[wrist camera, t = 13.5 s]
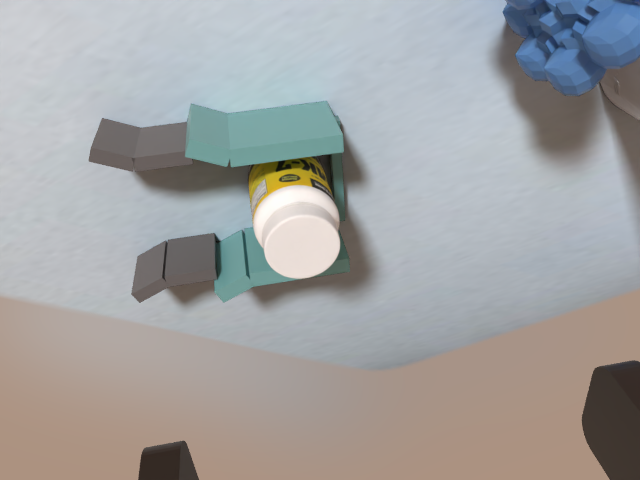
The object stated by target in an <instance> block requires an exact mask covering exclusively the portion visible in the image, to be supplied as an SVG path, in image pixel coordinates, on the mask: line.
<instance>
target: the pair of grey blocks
mask: <svg viewBox="0 0 640 480" xmlns="http://www.w3.org/2000/svg"><path fill="white" fill-rule="evenodd" d="M186 132H187V122H183V123H176V124H168V125H160V126H152V127H144V128H139V127H135V126H131V125H127V124H123V123H119V122H115V121H112V120H108V119H104V118H102V120H101V123H100V125H99V128H98V131H97V133H96V136H95V138H94V141H93V144H92V146H91V150H90V156H89V162H93V163H98V164H102V165H106V166H111V167H115V168H119V169H124V170H128V171H132V172H133V167H135V171H136V172H138V171H145V170H153V169H160V168H168V167H175V166H183V165H190V164H193V159H192V158H188V157H185V148H186ZM210 280H217V252H216V240H215V235H214V233H212V234H205V235H198V236H191V237H184V238H177V239H171V240H168V243H167V242H166V241H164V242H162V243H161V244H159V245H157V246H155V247H154V248H152V249H150V250H148V251H146V252H145V253H143V254H141V255H139V256H138V257H137V264H136V270H135V276H134V282H133V288H132V295H133V296H134V297H135V298H136V299H137V301H138V302H139V303H141V302H142V301H144V300H146V299H148V298H150V297H151V296H153V295H155V294H157V293H159V292H161V291H162V290H164V289H166V288H168V287H171V286H178V285H184V284H191V283H197V282H204V281H210Z"/></svg>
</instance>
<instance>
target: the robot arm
mask: <svg viewBox="0 0 640 480" xmlns="http://www.w3.org/2000/svg"><path fill="white" fill-rule="evenodd" d="M600 83H601V85H602V88H603V91H604V93H605V95H606V96H607V97H608V98H609V100H610V101H611V102H612V103H613V104H614V105H616V106H617V107H619V108H620V109H621V110H623V111H625V112H626V113H628V114H629V115H631V116H633V117H634V118H636V119H637V120H639V121H640V57H639V58H638V59H637V60H636V61H635V62H633V63H631V64H629V65H627V66H625V67H623V68H621V69H607V71H606V73H605V74H604V76H603V78H602V79H601V80H600ZM582 426H583V431H584V435H585V438H586V441H587V443H588V445H589V447H590V449H591V450H592V452H593V454H594V455H595V457H596V458H597V460H598V461H599V463H600V465H601V466H602V468H603V469H604V471H605V473H606V474H607V476H608V477H609V479H610V480H640V362H638V361H627V362H622V363H616V364H611V365H605V366H600V367H597V368H595V370H594V371H593V374H592V378H591V382H590V386H589V391H588V395H587V399H586V403H585V407H584V411H583V415H582ZM138 480H199V478H198V476H197V473H196V470H195V467H194V464H193V461H192V458H191V455H190V452H189V449H188V446H187V444H186V442H185V441H180V442H174V443H168V444H163V445H157V446H152V447H146V448H144V450H143V452H142V455H141V462H140V471H139V479H138Z"/></svg>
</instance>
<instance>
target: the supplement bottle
mask: <svg viewBox="0 0 640 480" xmlns="http://www.w3.org/2000/svg"><path fill="white" fill-rule="evenodd" d="M248 185H249V194H250V203H251V212H252V220H253V228H254V233H255V236H256V238H257V240H258V242H259V244H260V245H261V246H262V248H263V249H264V254H265V258H266V260H267V262H268V264H269V265H270V267H271V268H272V269H273V270H275V271H276V272H277V273H279V274H281V275H283V276H285V277H289V278H295V279H303V278H309V277H313V276H315V275H318V274H320V273H322V272H324V271H325V270H326V269H328V268H329V267H330V266H331V265H332V264H333V262H334V261H335V260H336V258H337V256H338V254H339V250H340V237H339V233H338V229H339V212H338V209H337V206H336V203H335V200H334V198H333V195H332V192H331V189H330V187H329V184H328V181H327V178H326V175H325V173H324V170H323V167H322V165H321V163H320V161H319V159H318V157H317V156H311V157H304V158H297V159H289V160H282V161H274V162H267V163H260V164H252V165H251V166H250V168H249V172H248Z"/></svg>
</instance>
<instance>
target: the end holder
mask: <svg viewBox="0 0 640 480" xmlns="http://www.w3.org/2000/svg"><path fill="white" fill-rule="evenodd" d="M342 152H344V146H343V134H342V132H341V130H340V120H339V118H338V116H334V115H333V113H332V111H331V109H330V107H329V105H328V103H327V101H323V102H315V103H307V104H299V105H291V106H283V107H276V108H268V109H260V110H252V111H244V112H236V113H228V114H227V113H223V112H220V111H216V110H212V109H209V108H205V107H201V106H198V105H194V104H191V107H190V111H189V115H188V119H187V132H186V148H185V157H188V158H192V159H196V160H200V161H204V162H208V163H213V164H217V165H221V166H225V167H227V166H228V163H229V159H230V164H231V167H237V166H245V165H252V164H260V163H267V162H274V161H282V160H289V159H297V158H304V157H311V156H319V155H326V154H330V161H331V176H332V192H333V198H334V200H335V203H336V206H337V209H338V212H339V221H345V207H344V188H343V169H342ZM338 233H339V237H340V250H339V254H338V256H337V258H336V260H335V261H334V262H333V264H332V265H331V266H330V267H329V268H328V269H326V270H325V271H324V272H322V273H320V274H318V275H315V276H313V277H319V276H325V275H332V274H338V273H345V272H350V264H349V256H348V254H347V251H346V248H345V245H344V242H343V239H342V237H341V234H340V231H339V229H338ZM216 252H217V280H214V292H215V293H216V294H217V295H218V297H219V298H220V299H221V300H222V301H223V302H226V301H228V300H230V299H232V298H233V297H235V296H237V295H239V294H241V293H243V292H245V291H246V290H248V289H250V288H252V287H255V286H261V285H268V284H274V283H280V282H287V281H293V280H300V279H295V278H289V277H285V276H283V275H281V274H279V273H277V272H276V271H275V270H273V269H272V268H271V267H270V265H269V264H268V262H267V260H266V258H265V254H264V249H263V248H262V246H261V245H260V244H259V242H258V240H257V238H256V236H255V233H254V228H246V229H245V233H244V232H243V231H242V230H240V231H238V232H237V233H235V234H233V235H231V236H229V237H228V238H226V239H224V240H222V241H220V242H219V243H217V244H216ZM313 277H309V278H313ZM303 279H306V278H303Z"/></svg>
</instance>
